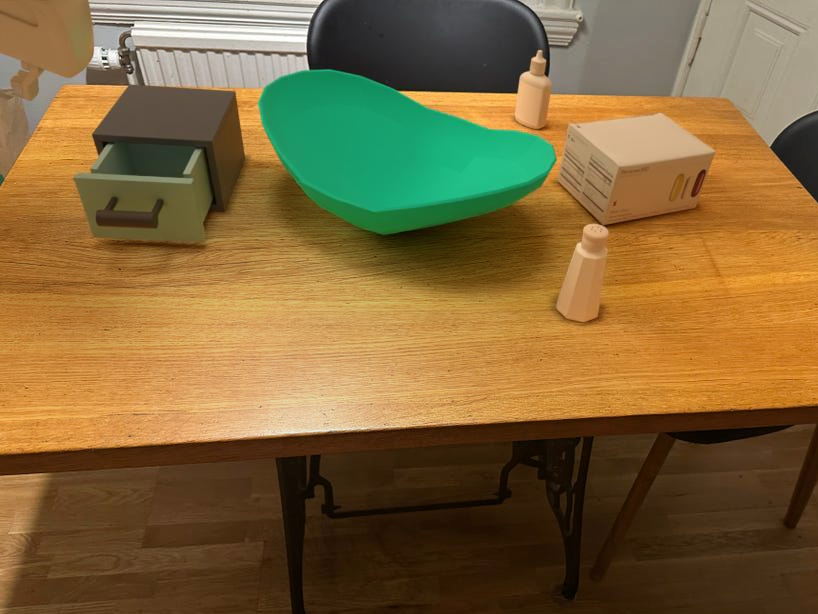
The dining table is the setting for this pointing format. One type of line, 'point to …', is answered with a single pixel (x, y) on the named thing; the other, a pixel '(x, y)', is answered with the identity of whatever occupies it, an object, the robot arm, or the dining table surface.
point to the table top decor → (394, 153)
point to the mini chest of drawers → (181, 128)
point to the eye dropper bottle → (533, 95)
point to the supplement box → (634, 167)
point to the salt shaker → (585, 276)
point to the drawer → (147, 192)
